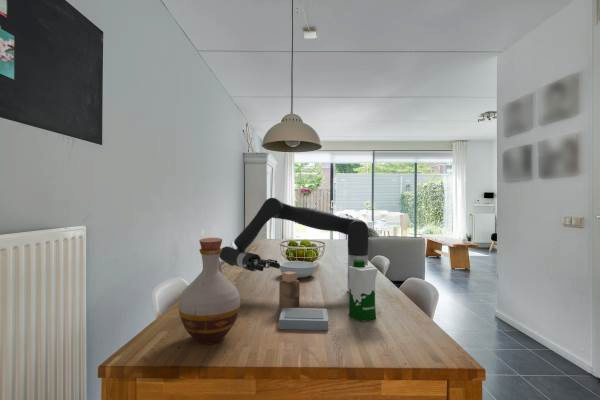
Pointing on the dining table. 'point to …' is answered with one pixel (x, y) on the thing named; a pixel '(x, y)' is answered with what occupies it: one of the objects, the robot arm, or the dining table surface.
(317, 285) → the dining table surface
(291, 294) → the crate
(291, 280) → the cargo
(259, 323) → the dining table surface
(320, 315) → the dock
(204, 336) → the jug
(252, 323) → the dining table surface
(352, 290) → the milk carton
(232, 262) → the robot arm
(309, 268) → the serving bowl
